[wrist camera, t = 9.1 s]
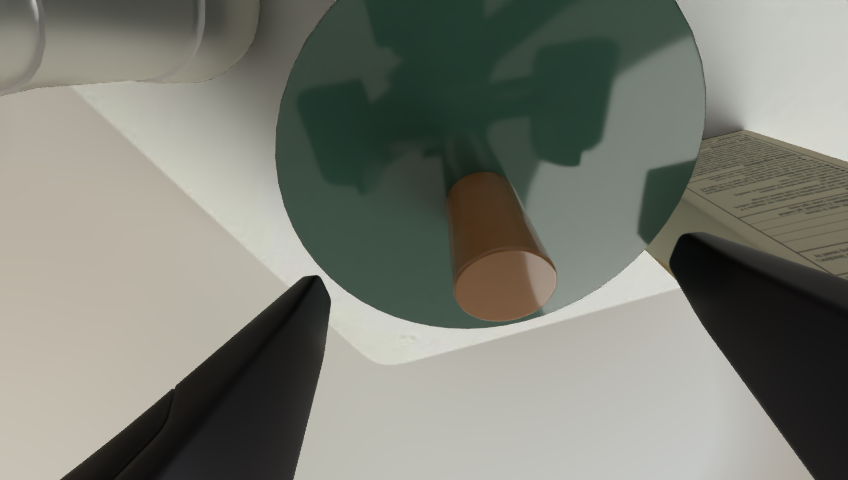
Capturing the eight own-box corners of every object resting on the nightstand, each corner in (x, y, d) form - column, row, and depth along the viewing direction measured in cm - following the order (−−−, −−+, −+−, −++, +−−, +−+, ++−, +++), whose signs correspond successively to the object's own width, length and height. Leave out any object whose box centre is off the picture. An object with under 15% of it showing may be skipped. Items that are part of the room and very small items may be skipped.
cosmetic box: (614, 223, 19) (824, 448, 9) (621, 158, 16) (921, 370, 6) (730, 198, 18) (1117, 423, 8) (757, 124, 15) (1369, 317, 5)
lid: (769, -129, 7) (1354, -382, 2) (624, 296, 14) (703, 408, 10) (203, -8, 8) (-47, -41, 4) (352, 322, 16) (325, 430, 11)
